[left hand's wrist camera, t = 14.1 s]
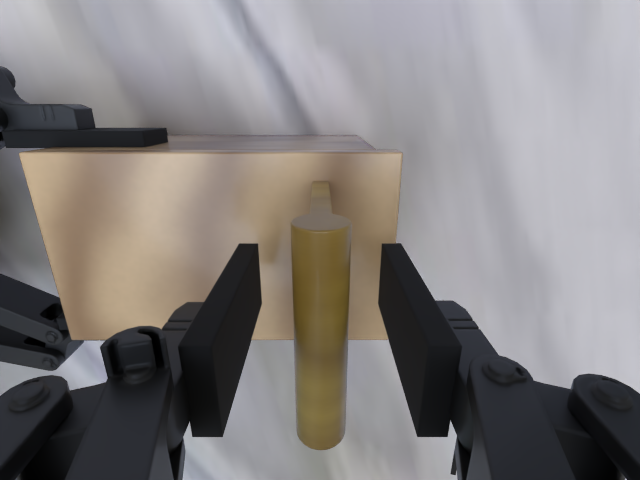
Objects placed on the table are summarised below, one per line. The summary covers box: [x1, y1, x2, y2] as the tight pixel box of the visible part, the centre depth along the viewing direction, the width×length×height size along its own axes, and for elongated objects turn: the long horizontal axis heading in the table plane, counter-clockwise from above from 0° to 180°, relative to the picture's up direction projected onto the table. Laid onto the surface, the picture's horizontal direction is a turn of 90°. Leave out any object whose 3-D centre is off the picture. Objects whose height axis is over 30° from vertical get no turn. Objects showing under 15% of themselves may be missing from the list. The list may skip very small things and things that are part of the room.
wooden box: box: [40, 135, 376, 150], centre depth 22 cm, size 15×9×9 cm, turn 90°
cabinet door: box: [19, 150, 403, 450], centre depth 14 cm, size 16×9×8 cm, turn 90°
